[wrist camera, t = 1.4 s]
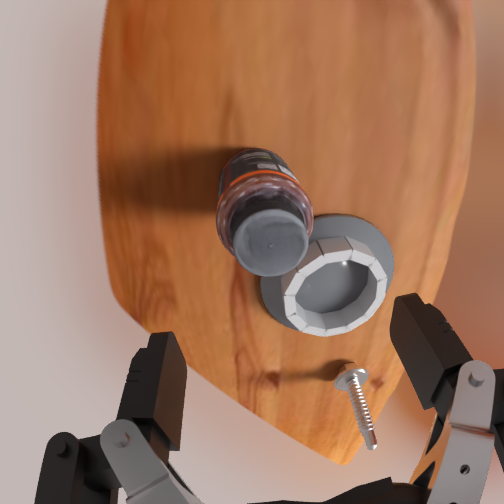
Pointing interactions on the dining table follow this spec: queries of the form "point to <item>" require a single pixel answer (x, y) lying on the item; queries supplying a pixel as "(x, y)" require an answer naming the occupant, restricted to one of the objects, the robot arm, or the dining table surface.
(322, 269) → the bottle coaster
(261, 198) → the supplement bottle
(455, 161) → the dining table surface
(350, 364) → the screw
